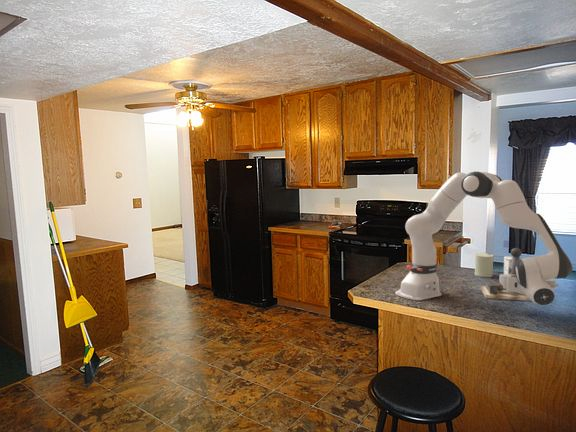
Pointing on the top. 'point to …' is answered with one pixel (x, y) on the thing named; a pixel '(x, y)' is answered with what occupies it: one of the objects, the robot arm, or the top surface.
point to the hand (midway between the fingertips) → (521, 275)
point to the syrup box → (507, 265)
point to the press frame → (500, 292)
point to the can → (484, 265)
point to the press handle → (515, 259)
